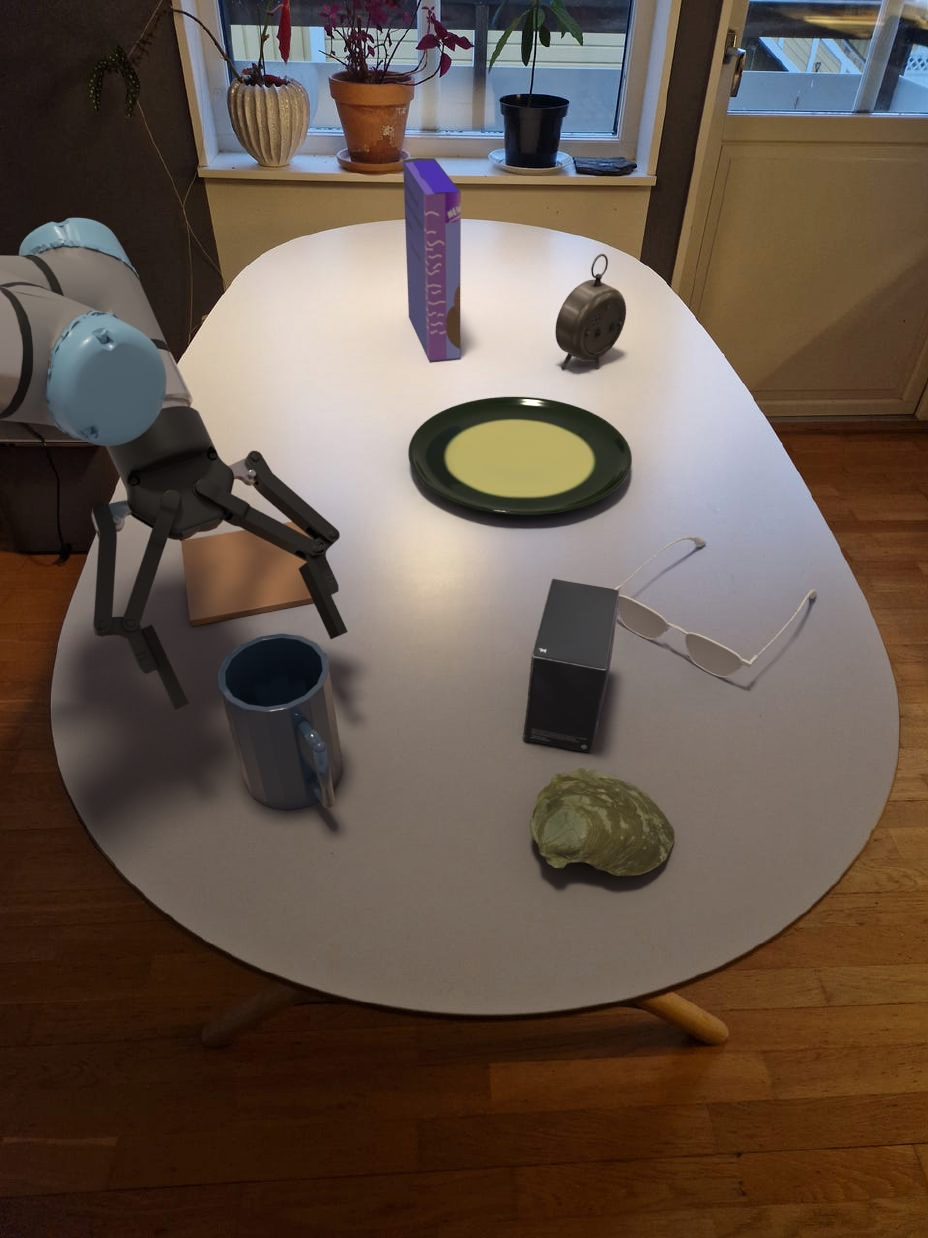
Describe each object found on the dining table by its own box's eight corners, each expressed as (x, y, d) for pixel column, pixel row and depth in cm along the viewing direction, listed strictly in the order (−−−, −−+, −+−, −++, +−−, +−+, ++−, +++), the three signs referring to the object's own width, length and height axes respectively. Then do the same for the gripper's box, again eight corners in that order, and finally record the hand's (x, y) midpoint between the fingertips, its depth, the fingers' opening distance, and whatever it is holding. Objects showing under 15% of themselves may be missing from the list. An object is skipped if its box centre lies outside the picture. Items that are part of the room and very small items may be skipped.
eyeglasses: (604, 618, 88) (609, 588, 85) (695, 539, 98) (701, 510, 95) (741, 692, 80) (751, 661, 78) (824, 598, 90) (835, 568, 88)
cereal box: (460, 359, 132) (460, 190, 116) (429, 362, 131) (426, 192, 115) (436, 314, 145) (434, 156, 128) (408, 316, 144) (402, 158, 128)
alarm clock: (601, 348, 135) (613, 240, 124) (626, 360, 132) (641, 251, 121) (550, 367, 130) (558, 257, 119) (575, 380, 127) (586, 268, 116)
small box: (595, 756, 74) (609, 671, 67) (521, 742, 76) (527, 657, 69) (608, 671, 82) (622, 587, 75) (541, 660, 83) (549, 575, 76)
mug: (229, 760, 74) (201, 661, 66) (314, 719, 77) (297, 620, 69) (289, 854, 67) (266, 756, 59) (379, 804, 71) (369, 705, 63)
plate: (659, 441, 114) (662, 424, 112) (581, 556, 95) (583, 538, 94) (470, 394, 123) (470, 378, 122) (367, 490, 105) (365, 473, 103)
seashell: (698, 819, 68) (645, 806, 60) (659, 904, 68) (601, 902, 60) (595, 763, 74) (535, 745, 66) (559, 841, 74) (495, 831, 66)
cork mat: (191, 626, 87) (189, 620, 86) (182, 546, 96) (180, 540, 96) (329, 600, 90) (328, 594, 89) (306, 524, 100) (305, 519, 99)
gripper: (283, 396, 76) (382, 615, 77) (-14, 487, 65) (106, 740, 66) (304, 362, 69) (413, 602, 70) (-24, 456, 58) (110, 739, 59)
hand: (264, 670), depth 68 cm, fingers open, 13 cm apart
